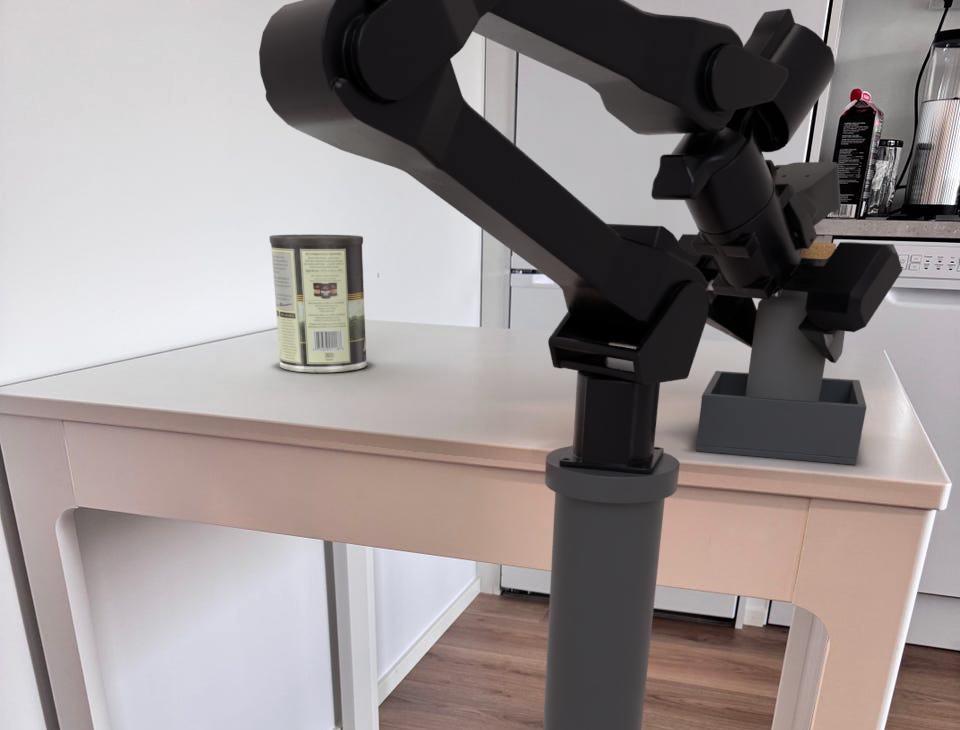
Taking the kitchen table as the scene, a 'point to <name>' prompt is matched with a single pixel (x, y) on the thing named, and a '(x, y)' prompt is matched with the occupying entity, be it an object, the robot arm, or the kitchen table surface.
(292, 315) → the coffee can
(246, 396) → the kitchen table surface
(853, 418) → the open rectangular box
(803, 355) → the bottle
